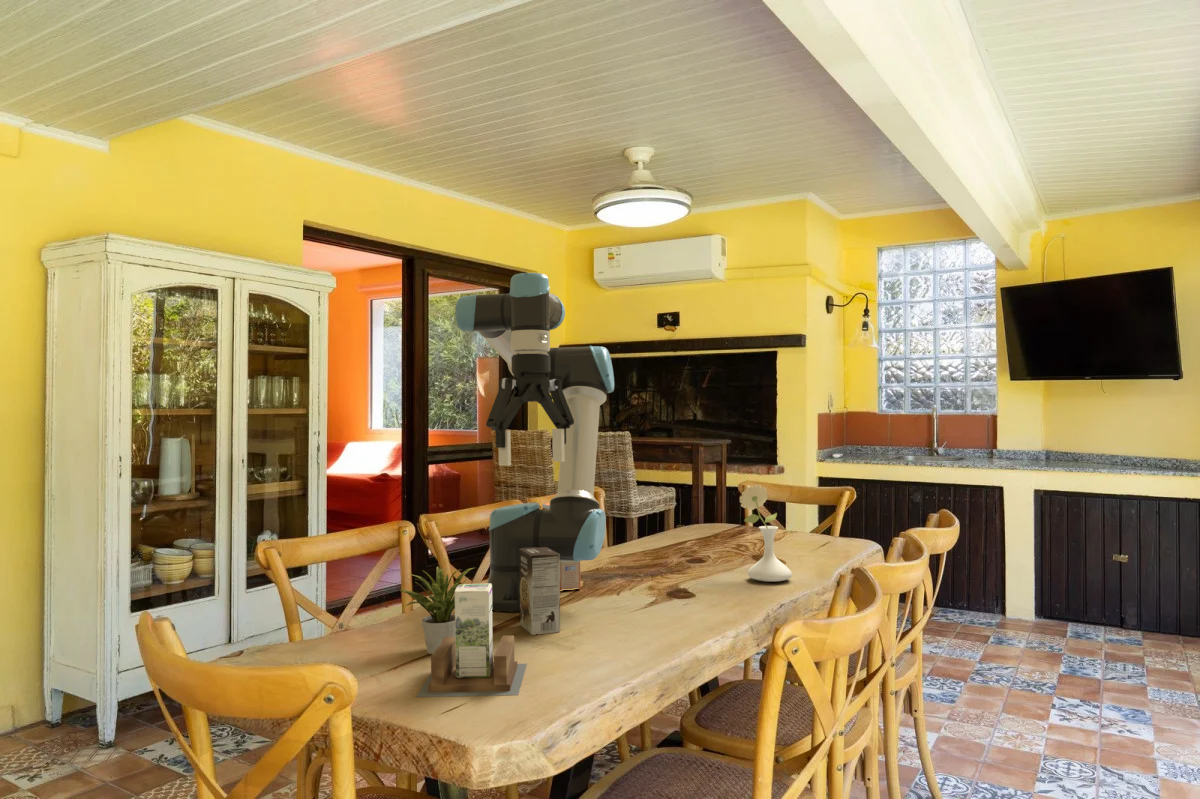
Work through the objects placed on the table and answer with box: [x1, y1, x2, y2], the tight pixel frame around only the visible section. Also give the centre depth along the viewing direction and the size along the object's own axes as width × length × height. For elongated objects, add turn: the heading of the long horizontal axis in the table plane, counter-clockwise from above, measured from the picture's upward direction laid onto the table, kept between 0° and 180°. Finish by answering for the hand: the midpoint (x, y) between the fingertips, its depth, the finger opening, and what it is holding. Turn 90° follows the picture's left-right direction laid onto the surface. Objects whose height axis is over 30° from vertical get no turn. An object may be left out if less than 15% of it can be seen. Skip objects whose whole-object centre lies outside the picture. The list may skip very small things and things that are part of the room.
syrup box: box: [454, 583, 494, 678], centre depth 135 cm, size 6×6×14 cm
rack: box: [428, 635, 518, 692], centre depth 135 cm, size 13×12×6 cm
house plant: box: [399, 566, 477, 655], centre depth 154 cm, size 14×14×16 cm
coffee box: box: [519, 547, 561, 636], centre depth 168 cm, size 9×6×16 cm
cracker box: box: [542, 502, 582, 590], centre depth 209 cm, size 14×6×21 cm, turn 21°
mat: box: [415, 663, 528, 698], centre depth 135 cm, size 16×16×1 cm
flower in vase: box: [739, 483, 793, 583], centre depth 211 cm, size 13×11×25 cm
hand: (532, 463), depth 157 cm, fingers open, 13 cm apart
